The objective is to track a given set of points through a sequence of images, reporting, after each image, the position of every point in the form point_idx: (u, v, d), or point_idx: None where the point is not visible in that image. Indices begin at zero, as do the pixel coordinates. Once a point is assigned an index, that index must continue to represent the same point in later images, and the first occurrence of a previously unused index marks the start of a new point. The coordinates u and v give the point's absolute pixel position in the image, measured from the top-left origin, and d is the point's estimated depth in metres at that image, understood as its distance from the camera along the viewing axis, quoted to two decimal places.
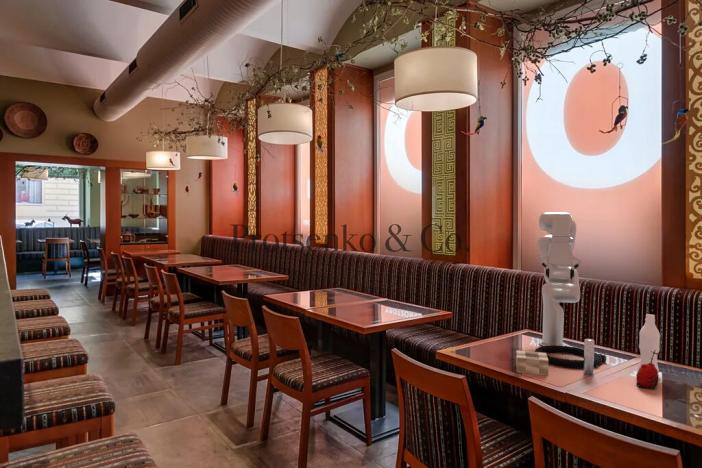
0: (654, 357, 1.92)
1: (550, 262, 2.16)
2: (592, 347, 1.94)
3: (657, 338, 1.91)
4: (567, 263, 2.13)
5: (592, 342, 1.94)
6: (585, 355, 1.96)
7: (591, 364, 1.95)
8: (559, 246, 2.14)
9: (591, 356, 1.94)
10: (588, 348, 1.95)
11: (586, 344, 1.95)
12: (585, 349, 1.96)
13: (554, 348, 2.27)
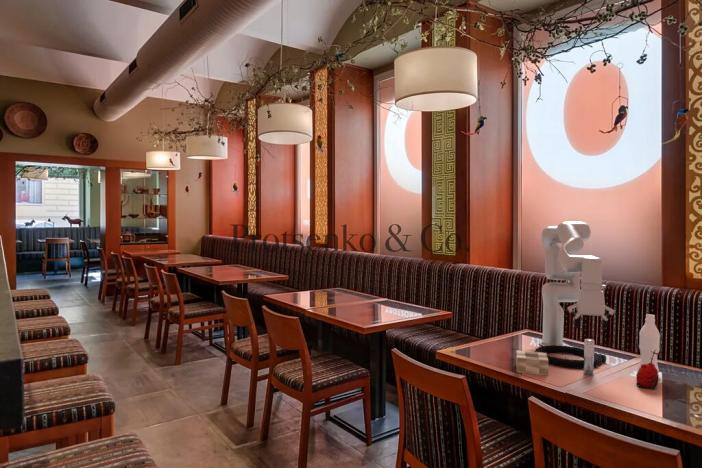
0: (654, 357, 1.92)
1: (580, 311, 1.95)
2: (592, 347, 1.94)
3: (657, 338, 1.91)
4: (599, 313, 1.92)
5: (592, 342, 1.94)
6: (585, 355, 1.96)
7: (591, 364, 1.95)
8: (590, 294, 1.93)
9: (591, 356, 1.94)
10: (588, 348, 1.95)
11: (586, 344, 1.95)
12: (585, 349, 1.96)
13: (554, 348, 2.27)
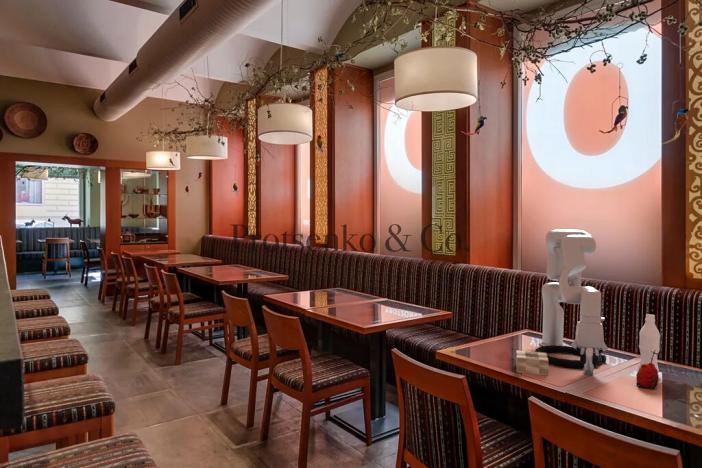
0: (654, 357, 1.92)
1: (578, 344, 1.95)
2: None
3: (657, 338, 1.91)
4: (598, 346, 1.93)
5: None
6: (585, 355, 1.96)
7: (591, 364, 1.95)
8: (588, 326, 1.94)
9: (591, 356, 1.94)
10: (588, 348, 1.95)
11: None
12: (585, 349, 1.96)
13: (554, 348, 2.27)
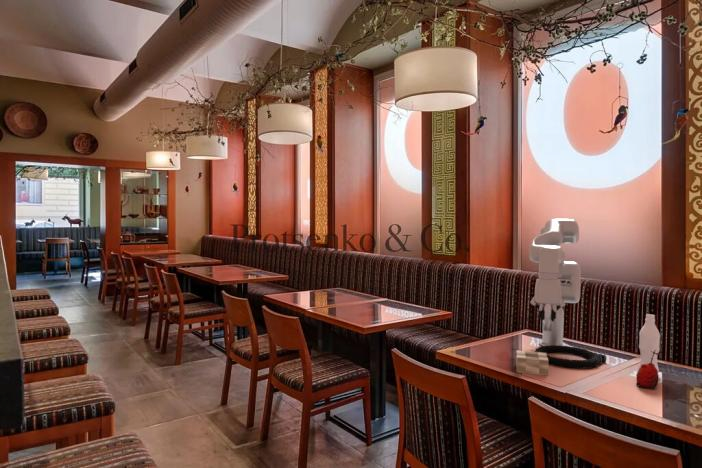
0: (654, 357, 1.92)
1: (537, 300, 1.98)
2: None
3: (657, 338, 1.91)
4: (555, 302, 1.96)
5: None
6: (544, 312, 1.98)
7: (549, 320, 1.98)
8: (547, 283, 1.97)
9: (549, 312, 1.97)
10: (546, 304, 1.98)
11: None
12: (544, 306, 1.99)
13: (554, 348, 2.27)
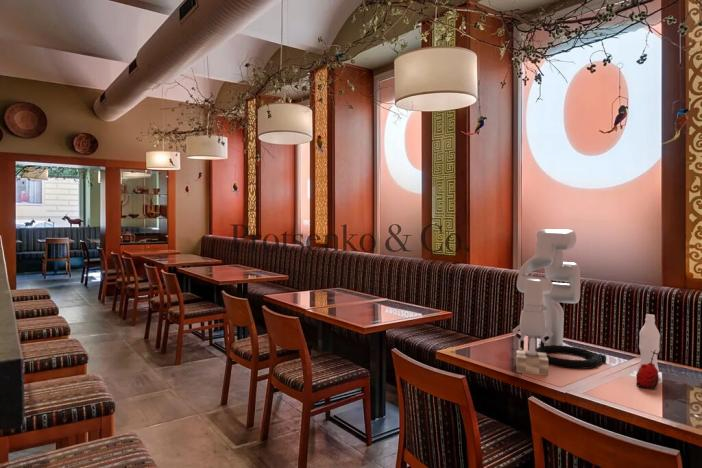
0: (654, 357, 1.92)
1: (522, 332, 2.00)
2: (534, 343, 1.99)
3: (657, 338, 1.91)
4: (540, 334, 1.98)
5: (534, 338, 1.99)
6: (528, 351, 2.00)
7: None
8: (531, 315, 1.98)
9: (534, 352, 1.99)
10: (530, 344, 2.00)
11: (529, 340, 2.00)
12: (528, 345, 2.01)
13: (554, 348, 2.27)
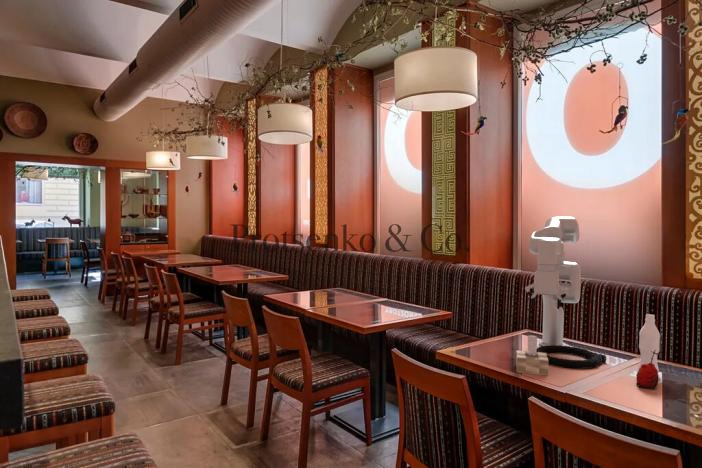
0: (654, 357, 1.92)
1: (536, 291, 2.04)
2: (534, 343, 1.99)
3: (657, 338, 1.91)
4: (554, 293, 2.01)
5: (534, 338, 1.99)
6: (528, 351, 2.00)
7: None
8: (545, 274, 2.02)
9: (534, 352, 1.99)
10: (530, 344, 2.00)
11: (529, 340, 2.00)
12: (528, 345, 2.01)
13: (554, 348, 2.27)
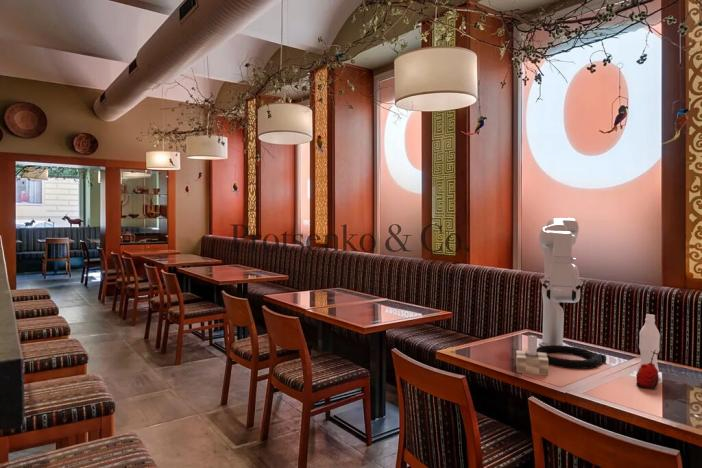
0: (654, 357, 1.92)
1: (551, 283, 2.08)
2: (534, 343, 1.99)
3: (657, 338, 1.91)
4: (569, 284, 2.06)
5: (534, 338, 1.99)
6: (528, 351, 2.00)
7: None
8: (560, 266, 2.06)
9: (534, 352, 1.99)
10: (530, 344, 2.00)
11: (529, 340, 2.00)
12: (528, 345, 2.01)
13: (554, 348, 2.27)
